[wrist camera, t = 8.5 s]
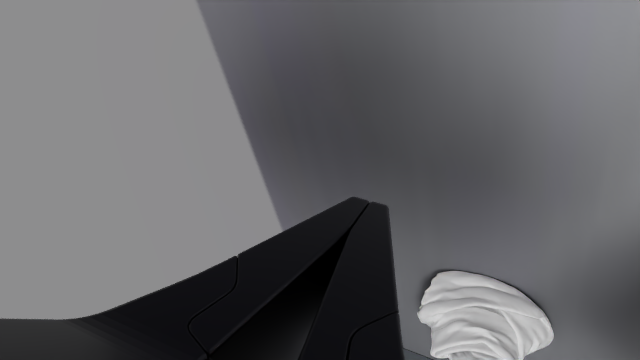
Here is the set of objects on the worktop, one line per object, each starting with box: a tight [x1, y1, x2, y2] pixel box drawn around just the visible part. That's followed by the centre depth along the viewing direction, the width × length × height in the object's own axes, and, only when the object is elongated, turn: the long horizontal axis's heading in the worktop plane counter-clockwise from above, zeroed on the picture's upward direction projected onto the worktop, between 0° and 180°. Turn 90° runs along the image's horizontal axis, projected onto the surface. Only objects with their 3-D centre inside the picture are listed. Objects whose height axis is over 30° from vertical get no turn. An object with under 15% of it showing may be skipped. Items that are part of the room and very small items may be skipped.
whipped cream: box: [417, 271, 554, 360], centre depth 24 cm, size 8×7×5 cm
